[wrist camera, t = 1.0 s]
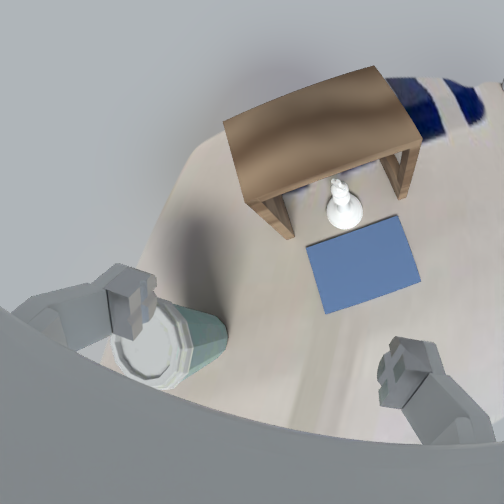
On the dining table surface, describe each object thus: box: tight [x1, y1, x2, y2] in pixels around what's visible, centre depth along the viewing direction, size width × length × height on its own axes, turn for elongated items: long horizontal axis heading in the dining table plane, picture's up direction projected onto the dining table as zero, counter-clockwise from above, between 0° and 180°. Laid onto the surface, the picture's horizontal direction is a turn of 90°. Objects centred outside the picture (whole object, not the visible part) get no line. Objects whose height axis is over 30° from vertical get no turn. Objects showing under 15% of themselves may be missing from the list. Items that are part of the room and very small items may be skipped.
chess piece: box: [327, 178, 363, 229], centre depth 35 cm, size 5×5×10 cm
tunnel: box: [223, 66, 422, 240], centre depth 35 cm, size 19×17×15 cm
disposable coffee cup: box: [110, 297, 228, 390], centre depth 36 cm, size 11×11×15 cm
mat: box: [306, 216, 421, 314], centre depth 37 cm, size 9×13×1 cm
